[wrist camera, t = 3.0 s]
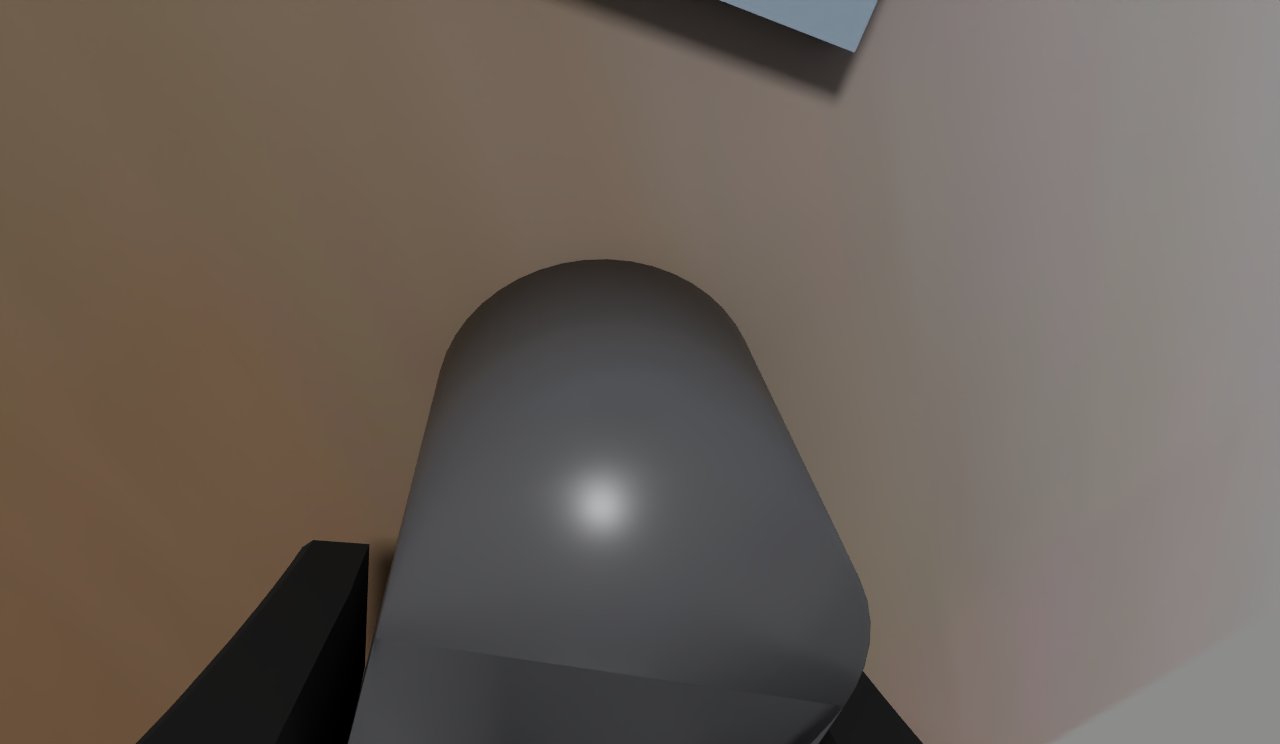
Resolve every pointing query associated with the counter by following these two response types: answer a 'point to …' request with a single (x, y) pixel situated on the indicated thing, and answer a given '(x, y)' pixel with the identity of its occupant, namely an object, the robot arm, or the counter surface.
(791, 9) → the rubber mat
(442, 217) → the counter surface
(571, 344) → the connector
